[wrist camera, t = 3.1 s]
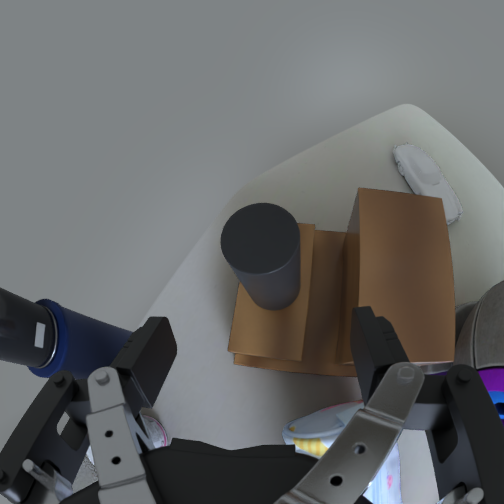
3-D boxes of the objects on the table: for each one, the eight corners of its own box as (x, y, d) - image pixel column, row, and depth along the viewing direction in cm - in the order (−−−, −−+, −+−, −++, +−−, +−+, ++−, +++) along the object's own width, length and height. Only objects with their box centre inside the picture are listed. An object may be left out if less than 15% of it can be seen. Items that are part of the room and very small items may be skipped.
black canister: (244, 307, 23) (213, 270, 15) (252, 258, 25) (228, 200, 17) (297, 313, 22) (296, 278, 14) (303, 262, 24) (303, 204, 16)
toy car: (433, 232, 27) (445, 217, 24) (384, 154, 32) (389, 135, 29) (460, 220, 27) (473, 205, 24) (411, 147, 32) (418, 129, 29)
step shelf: (235, 364, 25) (200, 359, 16) (257, 230, 31) (239, 170, 22) (402, 377, 22) (453, 377, 13) (404, 242, 27) (439, 187, 18)
